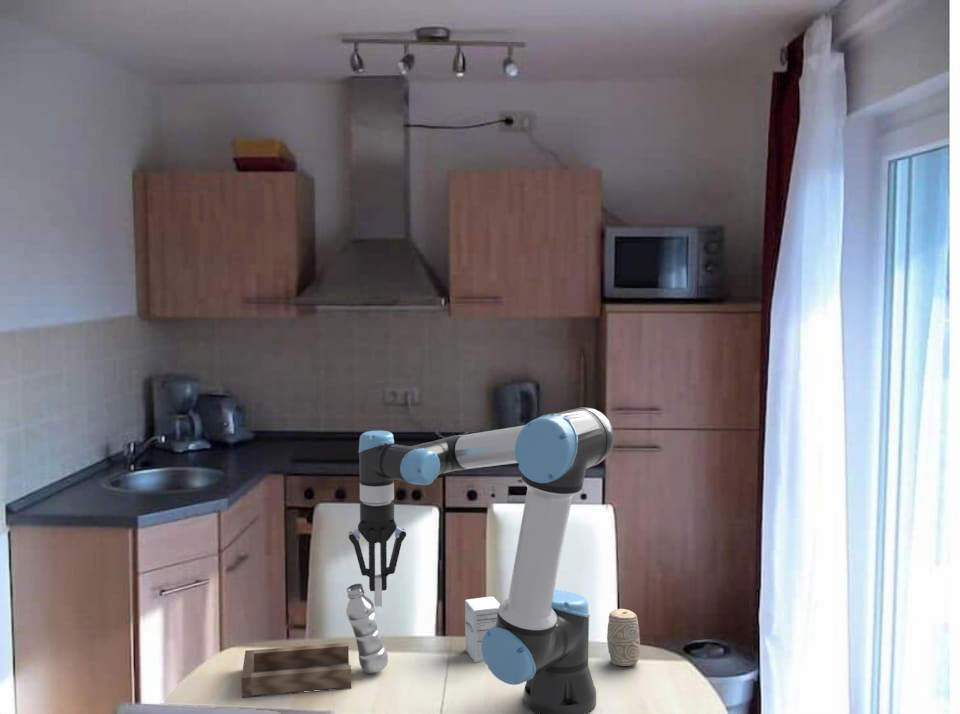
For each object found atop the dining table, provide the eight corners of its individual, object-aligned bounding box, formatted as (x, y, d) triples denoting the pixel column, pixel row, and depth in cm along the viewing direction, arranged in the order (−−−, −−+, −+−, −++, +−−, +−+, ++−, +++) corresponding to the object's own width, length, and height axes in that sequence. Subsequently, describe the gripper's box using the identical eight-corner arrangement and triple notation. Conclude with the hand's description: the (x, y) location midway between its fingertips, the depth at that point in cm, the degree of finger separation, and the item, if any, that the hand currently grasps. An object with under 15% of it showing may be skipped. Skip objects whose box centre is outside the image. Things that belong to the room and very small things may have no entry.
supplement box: (464, 650, 222) (464, 598, 221) (494, 646, 224) (494, 595, 223) (473, 663, 215) (473, 610, 214) (504, 659, 217) (504, 606, 216)
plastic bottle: (392, 659, 214) (371, 578, 211) (387, 674, 207) (364, 591, 204) (365, 664, 215) (344, 583, 212) (359, 679, 208) (336, 596, 205)
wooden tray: (348, 660, 217) (348, 642, 216) (351, 688, 203) (351, 668, 203) (246, 669, 213) (245, 650, 212) (242, 697, 199) (241, 678, 198)
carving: (608, 655, 219) (609, 606, 218) (641, 659, 217) (642, 609, 216) (604, 667, 213) (605, 616, 212) (638, 671, 211) (639, 619, 210)
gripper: (404, 495, 212) (405, 596, 214) (346, 498, 209) (348, 599, 212) (408, 504, 204) (409, 608, 207) (347, 507, 202) (349, 612, 205)
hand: (378, 604), depth 210 cm, fingers closed
